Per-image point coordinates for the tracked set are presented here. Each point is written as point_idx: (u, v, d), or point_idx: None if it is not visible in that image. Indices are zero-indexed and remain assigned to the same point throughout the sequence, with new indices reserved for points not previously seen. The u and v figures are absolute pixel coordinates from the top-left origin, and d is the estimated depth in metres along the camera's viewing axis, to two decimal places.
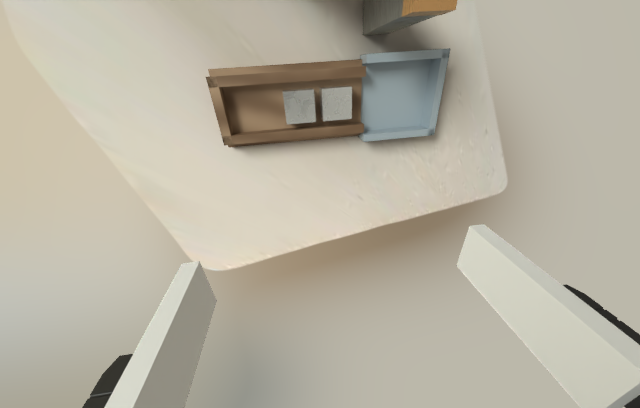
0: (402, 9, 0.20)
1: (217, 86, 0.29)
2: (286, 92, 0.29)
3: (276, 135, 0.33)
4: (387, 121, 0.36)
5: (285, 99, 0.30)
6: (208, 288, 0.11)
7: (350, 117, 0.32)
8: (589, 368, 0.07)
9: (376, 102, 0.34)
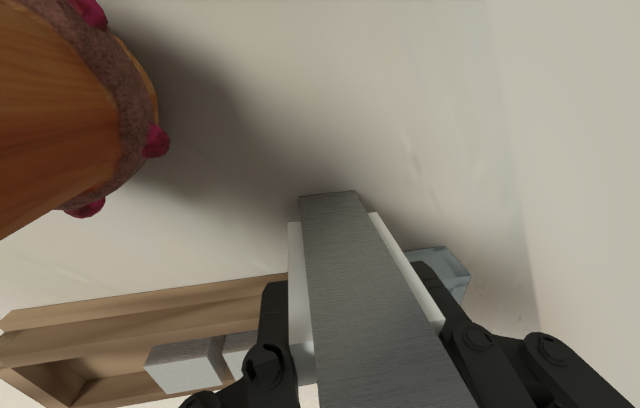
0: None
1: (7, 367, 0.14)
2: (151, 366, 0.15)
3: (156, 396, 0.18)
4: None
5: (152, 373, 0.15)
6: None
7: None
8: None
9: None
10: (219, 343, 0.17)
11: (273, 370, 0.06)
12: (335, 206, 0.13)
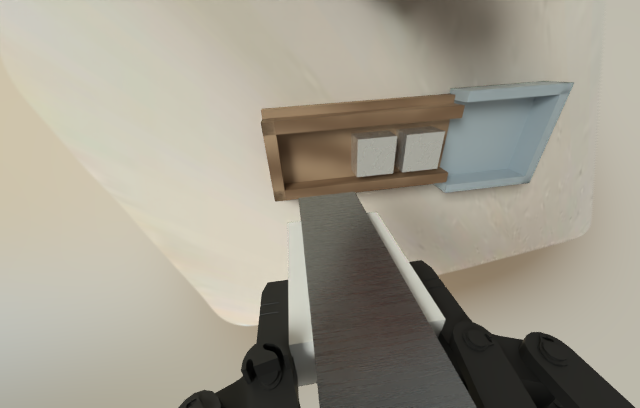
0: None
1: (274, 134, 0.22)
2: (362, 140, 0.23)
3: (340, 188, 0.26)
4: (470, 165, 0.29)
5: (359, 148, 0.23)
6: None
7: (436, 167, 0.25)
8: None
9: (461, 144, 0.27)
10: None
11: (273, 370, 0.06)
12: (335, 207, 0.13)
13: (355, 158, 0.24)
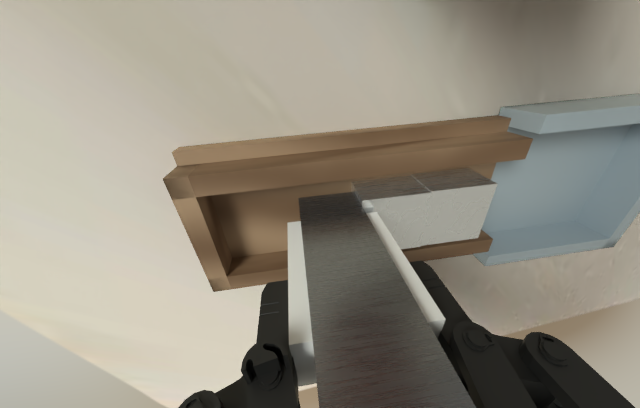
0: None
1: (193, 196, 0.12)
2: (370, 201, 0.13)
3: None
4: (520, 218, 0.19)
5: None
6: None
7: (476, 236, 0.15)
8: None
9: (510, 190, 0.18)
10: None
11: (273, 370, 0.06)
12: (335, 207, 0.13)
13: None
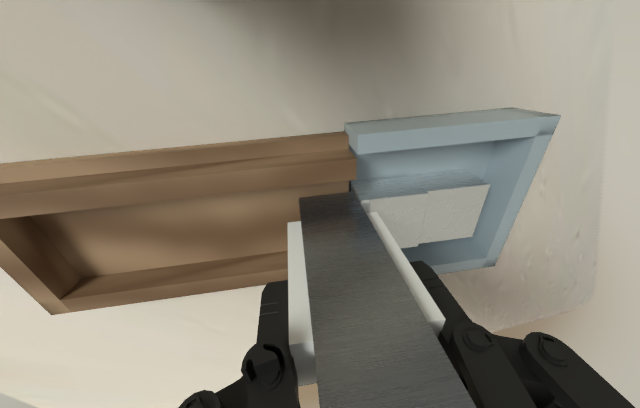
0: None
1: None
2: (369, 201, 0.13)
3: (165, 291, 0.15)
4: None
5: None
6: None
7: (470, 234, 0.16)
8: None
9: None
10: None
11: (273, 370, 0.06)
12: (335, 207, 0.13)
13: None
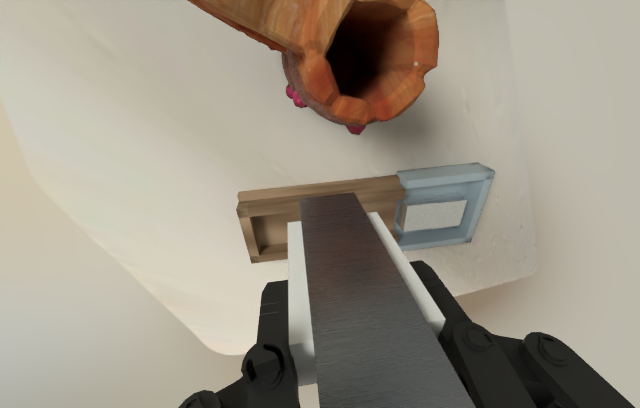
0: None
1: (248, 216, 0.27)
2: (410, 206, 0.29)
3: None
4: None
5: (408, 212, 0.29)
6: None
7: (458, 224, 0.31)
8: None
9: None
10: None
11: (273, 370, 0.06)
12: (335, 208, 0.13)
13: (402, 217, 0.30)
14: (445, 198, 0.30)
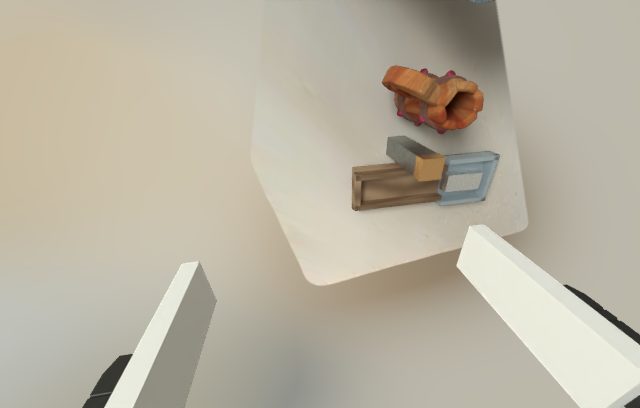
0: (413, 172, 0.38)
1: (360, 180, 0.48)
2: (450, 175, 0.50)
3: (387, 204, 0.51)
4: None
5: (449, 179, 0.50)
6: (208, 288, 0.11)
7: (477, 188, 0.52)
8: (589, 368, 0.07)
9: None
10: None
11: None
12: (400, 138, 0.45)
13: (444, 183, 0.51)
14: (470, 172, 0.51)
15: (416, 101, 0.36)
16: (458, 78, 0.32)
